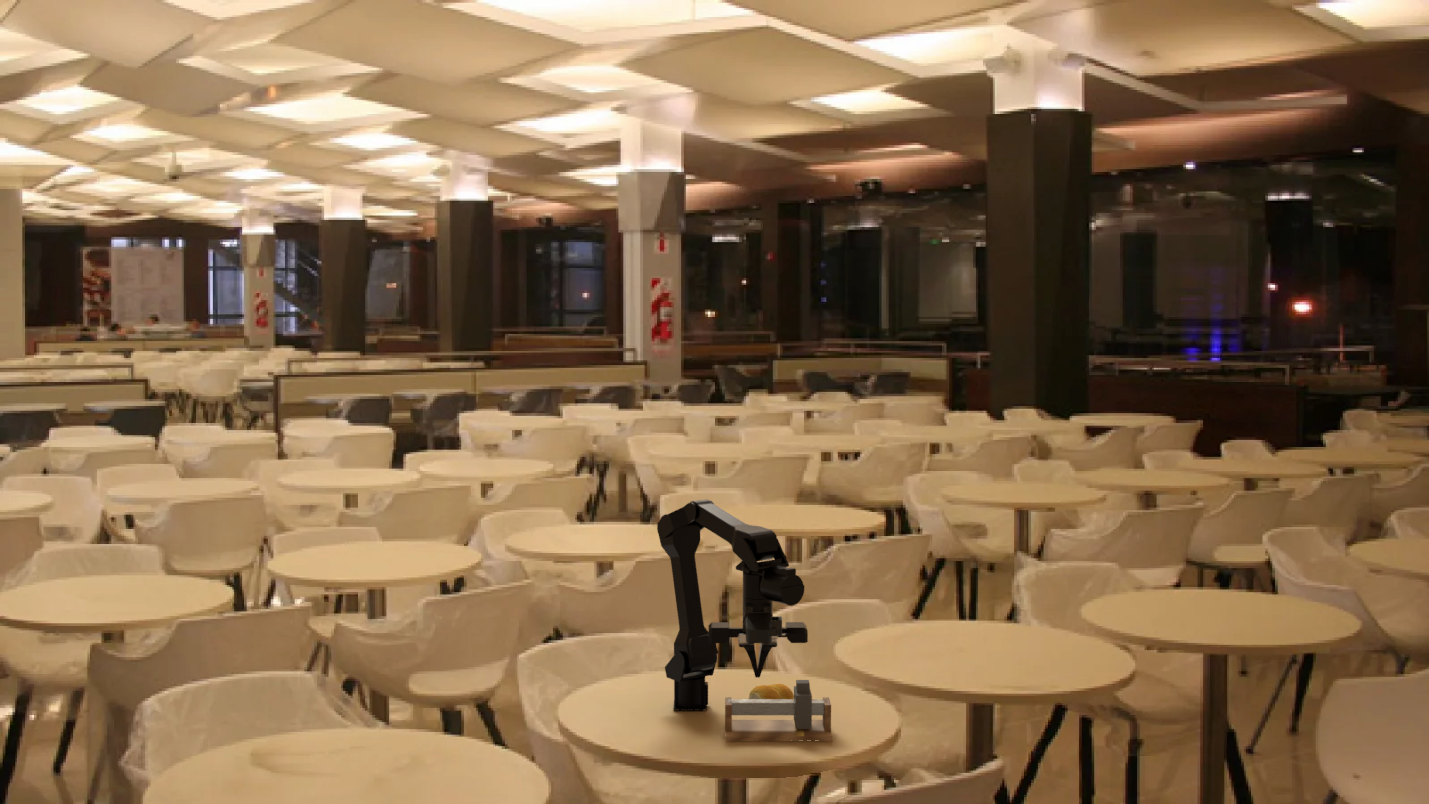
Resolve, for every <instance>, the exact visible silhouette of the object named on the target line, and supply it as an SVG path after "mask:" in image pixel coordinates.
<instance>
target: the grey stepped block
mask: <svg viewBox="0 0 1429 804" xmlns="http://www.w3.org/2000/svg"><path fill="white" fill-rule="evenodd" d="M810 683H811V682H810V680H809V679H796V680H795V685H794V686H793V695H794V699H795V700H796V701H795V715H793V719H794V723H795V728H796V729H812V720H813V719H812V718H813V717H812V716H813V715H812V699H813V695H812V691H811V685H810Z"/></svg>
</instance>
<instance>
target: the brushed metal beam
mask: <svg viewBox="0 0 1429 804" xmlns="http://www.w3.org/2000/svg"><path fill="white" fill-rule="evenodd" d="M728 700H729V701H728V702H729V703H732V716H794V715H795V701H796V700H795V699H749V698H748V699H747V698H746V699H745V698H744V699H739V698H738V699H737V698H735V699H734V698H733V699H732V698H731V699H728ZM824 702H825V701H824V700H823V698H821V699H818V698H812V716H823V715H824ZM826 703H827V701H826Z"/></svg>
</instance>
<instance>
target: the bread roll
mask: <svg viewBox="0 0 1429 804" xmlns="http://www.w3.org/2000/svg"><path fill="white" fill-rule="evenodd" d="M748 699H794V691H793V690H792V689H791V688H790V687H789V686H788V685H786V684H784V683H774V684H769V685H768V684H763V685H762V684H761V685H756V686H755V687H752V689H751V690H750V692H749V694H748Z"/></svg>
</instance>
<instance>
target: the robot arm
mask: <svg viewBox="0 0 1429 804" xmlns="http://www.w3.org/2000/svg"><path fill="white" fill-rule="evenodd" d="M656 528H657V529H656V530H657V534H658V537H659V542H660V547H662V549H663V551H664V552H665V553H666V554H667V556H668V557H669V560H670V565H671V572H672V573H671V574H672V578H673V579H672V581H673V587H674V596H675V605H676V612H677V619H678V620H677V621H678V629H679V630H678V632H677V635H676V637H675V640H674V643H673V656H672V658H670V660H669V661H668V662H667V664H666V665H665V666H664V671H665V676H666V678H667V679H670V680H672V681H674V682H673V688H674V689H673V693H674V694H673V697H674V698H673V706H672V707H673V708H672V709H673V711H706V707H707V706H708V705H709V682H708V681H706V677H708V676H713V675H714V671H715V669H716V664H717V662H718V654H719V650H718V646H717V644H726V643H727V642H728V641H730V638H737V640H738V647H740V648H744V650H745V651H746V654H747V655H748V658H749V661H750V664H751V666H752V667H751V668H752V670H753V674H754V678H758V679H759V678H760V677H761V675H762V671H763V668H764V666H765V663H766V661H767V657H768V655H769V653H770V652H771V649H773V648H777V647H778V639H779V638H786V640H788V642H789V643H790V644H807V643H808V642H809V641H808V640H809V639H808V638H809V637H808V634H809V633H808V628H807V627H808V626H807V625H806V623H804V622H803V621H800V622H798V621H796V622H793V621H787V622H785V626H783V617H782V616H778V615H777V616H774V614H773V613H774V612H773V610H774V608H773V607H774V605H773V604H774V603H773V602H775V603H779V604H782V605H785V606H791V607H792V606H796V605H797V604H798V603H800V601H801V600H802V599H803V597H804V593H805V585H804V582H803V579H802V577H800V576H799V575H797V569H796V568H795V567H790V564H789V562H788V559H787V558H788V557H787V556H786V554H785V551H784V550H783V548H782V545H781V543H780V540H779V539H778V537H777V534H776V533H775V532H774V531H773V530H772V529H769V528H766V527H763V526H759V525H753V524H747V523H746V522H743V521H741V520H740V519H739V518H737V517H735V516H734V515H732V514H730V513H729V512H727V511H725V510H724V509H722V508H720V507H719V506H718V505H715V503H714V502H713V501H712V500H710V499H698V500H692V501H690V502H688V503H686V504H685V505H683V506H682V507H680V508H678V509H675V510H673V511H672V512H670V513H666V514H662V516H661V517H660V519H659V521H658V522H657V525H656ZM704 528H705V529H707V530H709V531H710V532H711V533H713V534H715V535H716V536H718V537H719V538H721V539H722V540H724V541H726V542H727V543H728V544H730V545H731V550H732V552H733V553H734V554H735V555H736V556H737V557H738V559H740V560H741V561H740V562H739V563H738V564H737V565H736V566H735V570H736V571H740V572H742V627H741V626H739V627H737V626H736V627H732V626H731V627H730V622H728V621H727V622H723V621H722V622H721V621H718V622H717V621H716V622H710V624H709V625H708V630H707V628H706V626H705V623H704V615H703V608H702V601H701V591H700V585H699V577H698V570H697V564H696V552H697V550H698V549H699V548H698V547H699V545H700V543H701V531H702V530H703V529H704ZM755 644H760V645H759V652H758V662H757V656H756V648H755Z"/></svg>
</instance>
